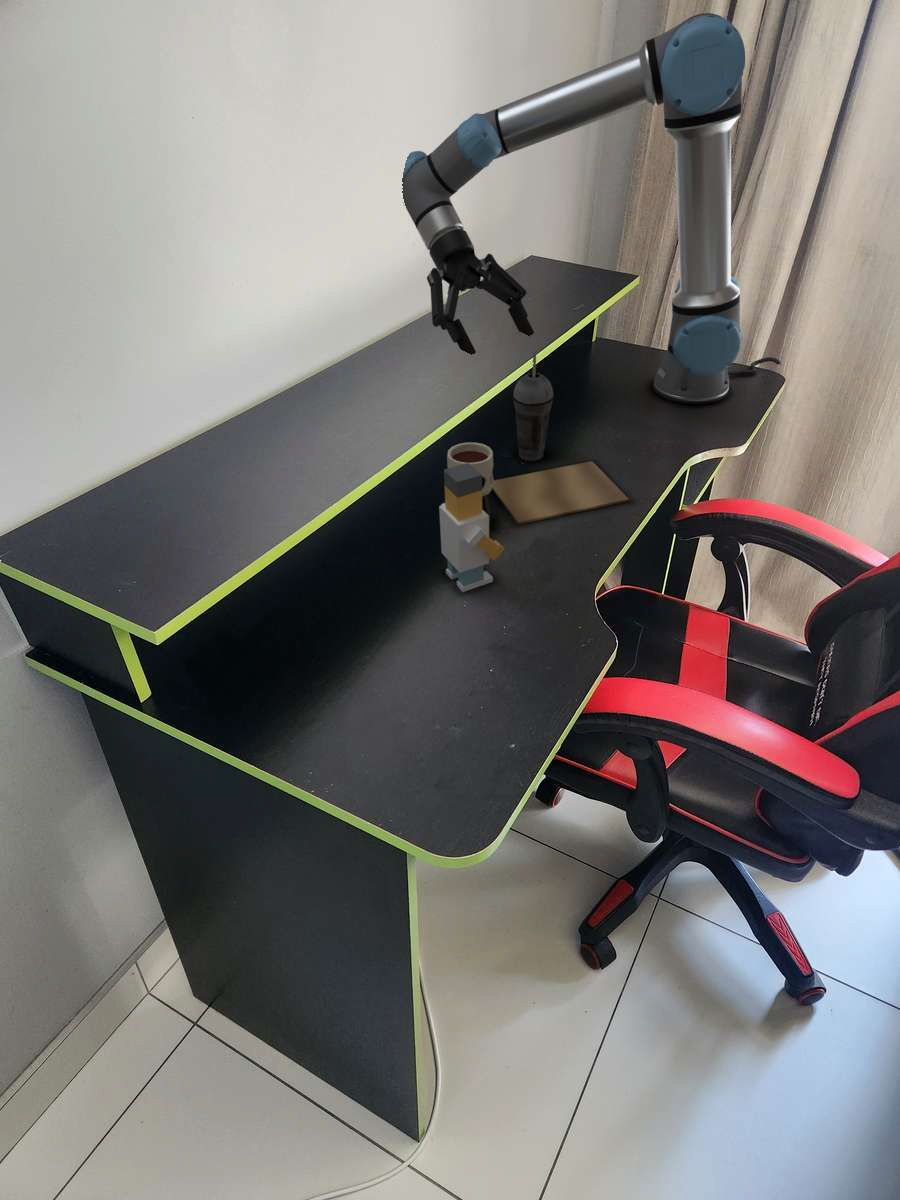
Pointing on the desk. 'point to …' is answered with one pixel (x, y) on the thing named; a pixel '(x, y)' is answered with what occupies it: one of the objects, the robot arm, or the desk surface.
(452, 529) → the character figure
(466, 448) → the character mug
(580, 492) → the cork mat
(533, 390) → the beverage cup
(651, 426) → the desk surface
